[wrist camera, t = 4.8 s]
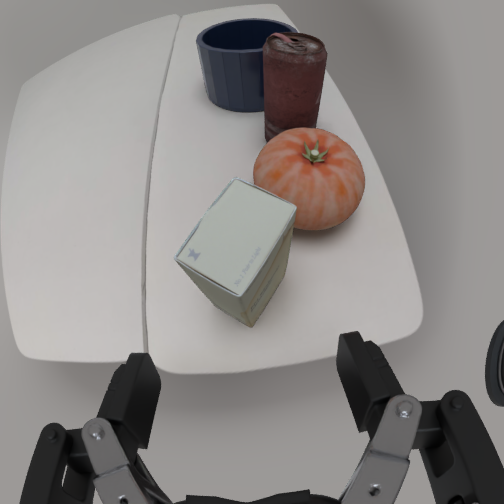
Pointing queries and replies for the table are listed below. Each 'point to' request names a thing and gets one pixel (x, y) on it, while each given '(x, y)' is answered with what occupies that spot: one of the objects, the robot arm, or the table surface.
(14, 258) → the table surface
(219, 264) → the cosmetic box
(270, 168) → the tomato
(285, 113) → the rusty soda tin
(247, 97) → the pot
